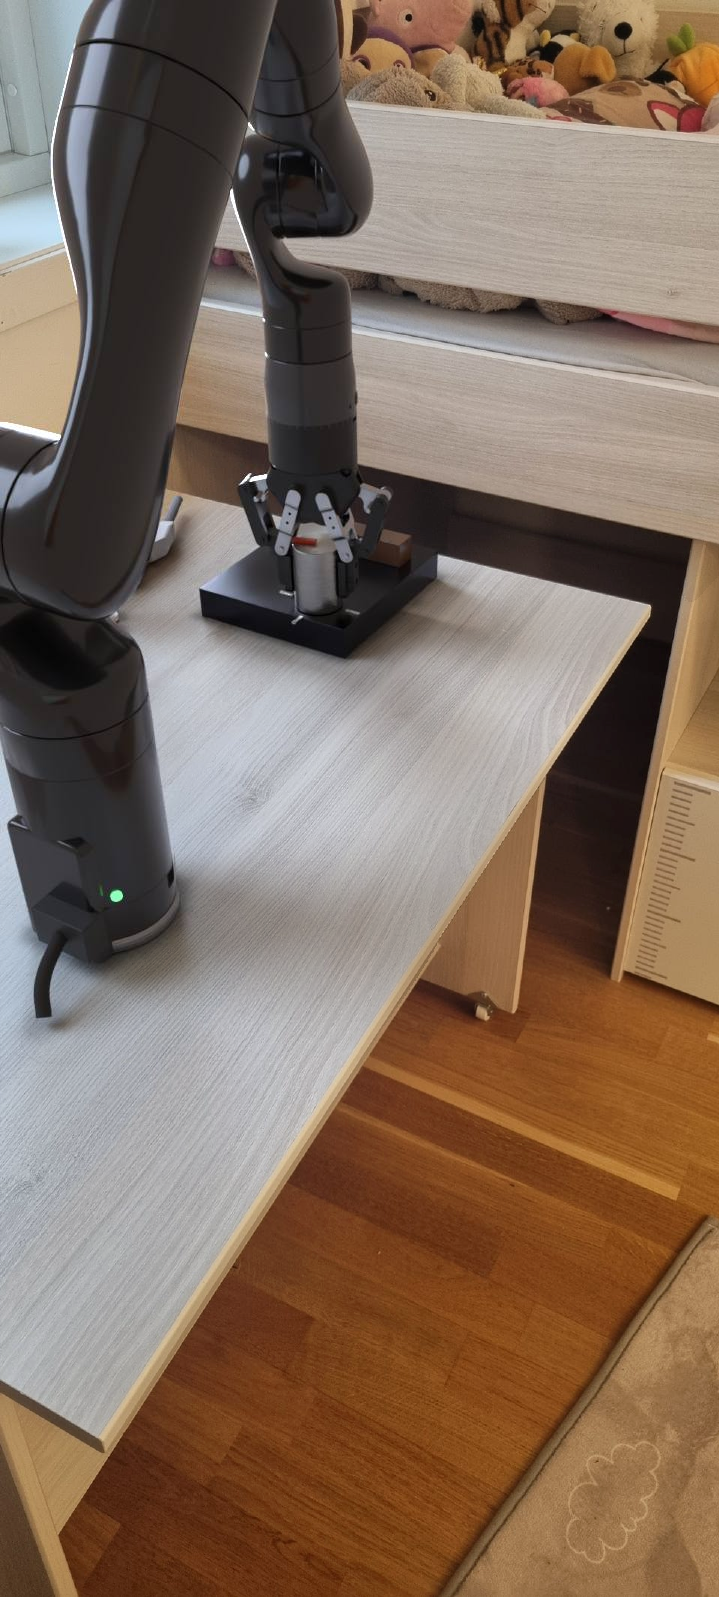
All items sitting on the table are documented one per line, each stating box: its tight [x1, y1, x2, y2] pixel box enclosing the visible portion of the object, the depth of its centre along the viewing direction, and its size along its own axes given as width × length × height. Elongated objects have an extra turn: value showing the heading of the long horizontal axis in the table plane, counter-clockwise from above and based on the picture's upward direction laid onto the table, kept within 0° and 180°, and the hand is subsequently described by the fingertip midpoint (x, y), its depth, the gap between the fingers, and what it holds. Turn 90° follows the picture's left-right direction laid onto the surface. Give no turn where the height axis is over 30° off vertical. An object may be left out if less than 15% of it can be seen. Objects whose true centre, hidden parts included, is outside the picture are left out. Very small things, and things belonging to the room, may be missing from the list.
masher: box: [276, 521, 413, 568], centre depth 118 cm, size 14×6×2 cm, turn 59°
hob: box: [198, 543, 439, 660], centre depth 116 cm, size 19×16×3 cm
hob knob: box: [292, 533, 343, 615], centre depth 108 cm, size 4×4×6 cm
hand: (319, 590), depth 109 cm, fingers closed on hob knob, 4 cm apart
